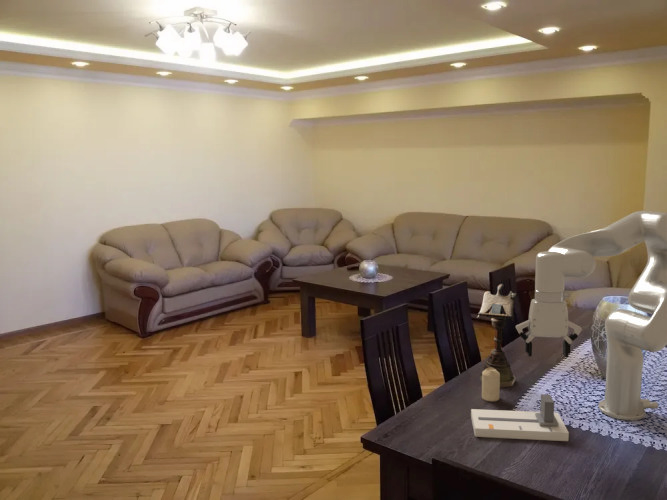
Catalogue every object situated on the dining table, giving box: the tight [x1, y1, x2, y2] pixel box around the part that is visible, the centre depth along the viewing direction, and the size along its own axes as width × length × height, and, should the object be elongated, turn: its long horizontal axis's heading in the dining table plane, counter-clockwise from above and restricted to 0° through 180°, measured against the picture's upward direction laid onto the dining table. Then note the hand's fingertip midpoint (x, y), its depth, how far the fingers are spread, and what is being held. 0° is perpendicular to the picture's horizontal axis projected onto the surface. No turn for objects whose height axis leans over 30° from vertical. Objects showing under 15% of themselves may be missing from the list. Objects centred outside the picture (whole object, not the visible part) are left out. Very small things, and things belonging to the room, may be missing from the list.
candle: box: [481, 367, 501, 402], centre depth 176 cm, size 6×6×10 cm
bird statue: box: [476, 283, 517, 388], centre depth 186 cm, size 17×13×35 cm
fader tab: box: [535, 393, 559, 426], centre depth 155 cm, size 5×6×7 cm
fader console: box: [470, 408, 570, 442], centre depth 157 cm, size 25×12×3 cm, turn 81°
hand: (547, 355), depth 153 cm, fingers open, 9 cm apart
